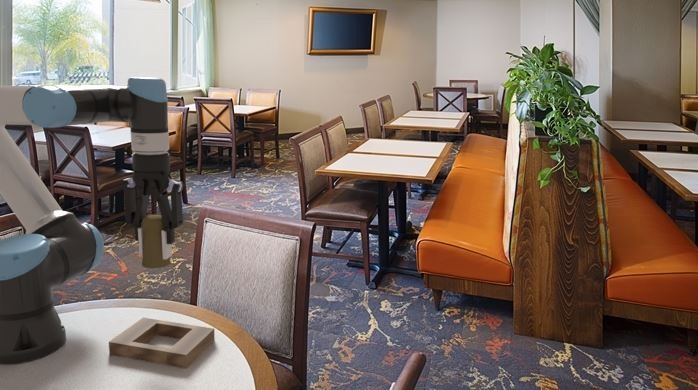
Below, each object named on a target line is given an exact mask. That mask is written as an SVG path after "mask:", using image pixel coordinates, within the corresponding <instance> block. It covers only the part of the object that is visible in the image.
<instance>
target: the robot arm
mask: <svg viewBox="0 0 698 390" xmlns="http://www.w3.org/2000/svg"><path fill="white" fill-rule="evenodd" d="M167 92H168V91H167V83H166V81H165V80H164V79H163V78H161V77H137V76H136V77H134V76H131V77H129V78H128V79H127V85H126V86H125V85H123V86H118V85H102V84H88V85H87V84H83V85H0V195H1V197H2V198H3V199H4V201H5V202H6V203H7V205H8V206H9V208H10V209H11V211H12V212H13V213H14V215H15V216H16V217H17V219H18V221H19V222H20V224H21V225H22V227H23V228H24V229H25V233H23V234H18V235H17V236H16V235H15V236H8V237H6V238H3V239H0V364H3V365H4V364H5V365H7V364H19V363H20V364H21V363H26V362H30V361H35V360H37V359H40V358H44V357H46V356H48V355H51V354H52V353H54V352H56V351H57V350H59V349H60V348H62V347H63V346H64V344H65V342H66V340H67V333H66V328H65V325H64V323H62V321H61V317H60V315H59V313H58V311H57V310H56V308H55V302H54V290H53V289H55V288H57V287H59V286H61V285H63V284H65V283H68V282H70V281H72V280H74V279H76V278H77V277H80V276H85V275H86V274H87V273H88V272H90V271H92V270H94V269H95V268H96V267H97V266H99V264H100V263H101V262H102V259H103V257H104V250H105V242H104V239H103V236H102V234H101V232H100V231H99V229H98V228H97V227H96V226H94V225H93V224H90V223H88V222H80V221H79V220H78V218H77V217H76V215H75V214H74V212H70V211H65V210H63V209H62V207H61V206H60V205H59V204H58V202H57V200H56V199H55V198H54V196H53V195H52V193H51V192H50V190H49V189H48V188H47V186H46V185H45V183H44V182H43V180H42V179H41V177H40V176H39V175H38V173H37V172H36V170H35V169H34V167H33V166H32V164H31V163H30V161H28V159H27V158H26V156H25V155H24V153H23V152H22V150H21V149H20V148H19V146H18V144H17V143H16V141H14V139H13V137H12V136H11V134H9V132H8V131H7V129H6V128H5V127H6V125H7V126H8V125H11V126H12V125H13V126H14V125H15V126H36V127H39V128H45V129H46V128H49V129H50V128H51V129H55V128H62V127H68V126H78V125H87V124H88V125H89V124H96V123H105V122H107V123H109V122H112V123H129V128H130V141H131V151H133V153H132V154H131V161H132V163H131V164H132V165H131V167H132V169H133V174H132V177H128V178H125V179H122V180H121V181H120V184H121V187H122V189H123V198H124V215H125V217H124V218H125V219H124V220H125V223H126V225H131V226H133V228H134V238H135V241H136V242H138V253H139V254H138V255H139V256H138V257H139V258H143V247H144V236H145V231H144V230H143V228H142V220H143V218H144V217H146V216H147V211H148V207H149V201H150V197H151V196H153V197H154V200H155V201H156V202H157V205H158V209H159V212H160V215H161V217H162V220H163V224H164V227H165V229H163V230H162V231H161V232H162V253H163V259H165V260H166V259H168V258H169V257H170V258H171V257H172V256H173V245H172V244H174V243H175V242H176V241H175V240H176V235H175V234H176V232H175V229H178V228H179V227H181V226H182V225H183V223H184V216H183V215H184V214H183V197H182V192H183V189H184V185H185V184H184V182H183V181H176V180H174V179H173V178H172V176H171V174H170V172H171V171H170V170H171V155H170V153H169V152H168V151H169V150H170V138H169V137H170V135H169V134H170V133H169V120H168V118H169V117H168V109H169V107H168V103H169V98H168V93H167ZM135 186H136V187H137V188H138V190H137V191H136V187H135ZM169 187H170V188H169ZM168 188H169V190H170V200H169V192H168ZM136 192H137V195H136ZM136 198H137V199H136ZM170 203H171V204H170Z"/></svg>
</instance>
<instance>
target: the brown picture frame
mask: <svg viewBox="0 0 698 390" xmlns="http://www.w3.org/2000/svg"><path fill="white" fill-rule="evenodd" d="M157 336H158V337H159V336H161V337H166V338H171V339H172V338H173V339H179V340H178V341H177V342H176V343H174V344H173V345H172V346H171V347H165V346H159V345H153V344H148V343H149V342H151V340H153V339H154V338H156V337H157ZM215 339H216V337H215V328H213V327H205V326H200V325H193V324H187V323H182V322H181V323H180V322H175V321H174V322H173V321H168V320H162V319H156V318H155V319H154V318H149V317H142V318H140V319H139V320H138V321H136V322H134V323H133V324H132V325H131V326H129V327H128V328H126V329H125V330H123V331H122V332H121V333H119V334H118V335H116V336H115V337H113V338H112V339H110V340H109V341H108V350H109V351H108V353H109V354H108V355H110V356H114V357H119V358H124V359H131V360H138V361H144V362H148V363H149V362H150V363H155V364H158V365H159V364H160V365H165V366H170V367H177V368H183V369H188V368H189V367H190V366H191V365H192V364H193V363H194V362H195V361H196V360H197V359H198V358H199V357H200V356H201V355H202V354H203V353H204V352H205V351H206V350H207V349H208V348H209V347H210V346H211V345H212V344H213V343H214V342H215Z"/></svg>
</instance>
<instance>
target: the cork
mask: <svg viewBox="0 0 698 390" xmlns="http://www.w3.org/2000/svg"><path fill="white" fill-rule="evenodd" d="M142 228H143V230H144V231H145V236H144V247H143V257H141V258H142V260H141V266H142V267H143V268H147V269H162V268H164V267H168V266H170V265H171V257H169V258H168V259H166V260H165V259H163V253H162V232H161V231H162V230H163V229H165V227H164V224H163V220H162V217H161V214H149V215H146V217H144V218H143V220H142Z"/></svg>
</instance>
